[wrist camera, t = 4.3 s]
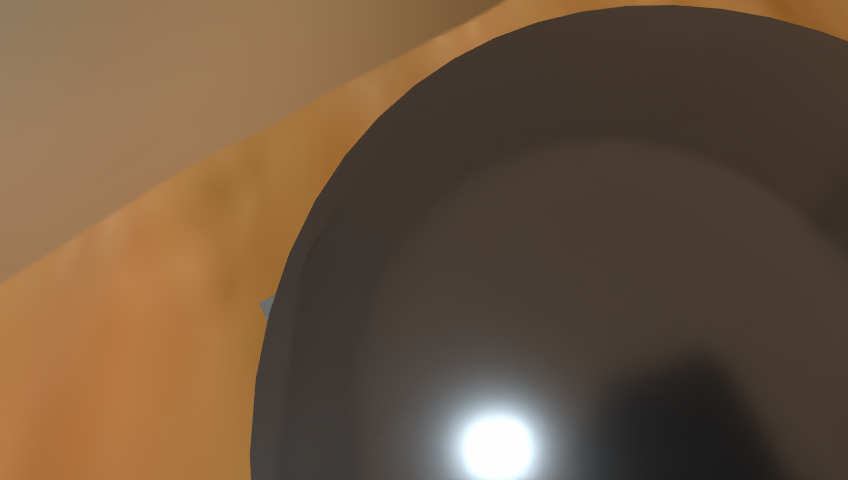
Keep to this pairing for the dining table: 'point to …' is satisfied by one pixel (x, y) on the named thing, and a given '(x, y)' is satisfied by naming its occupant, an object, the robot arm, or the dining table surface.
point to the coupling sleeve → (579, 265)
